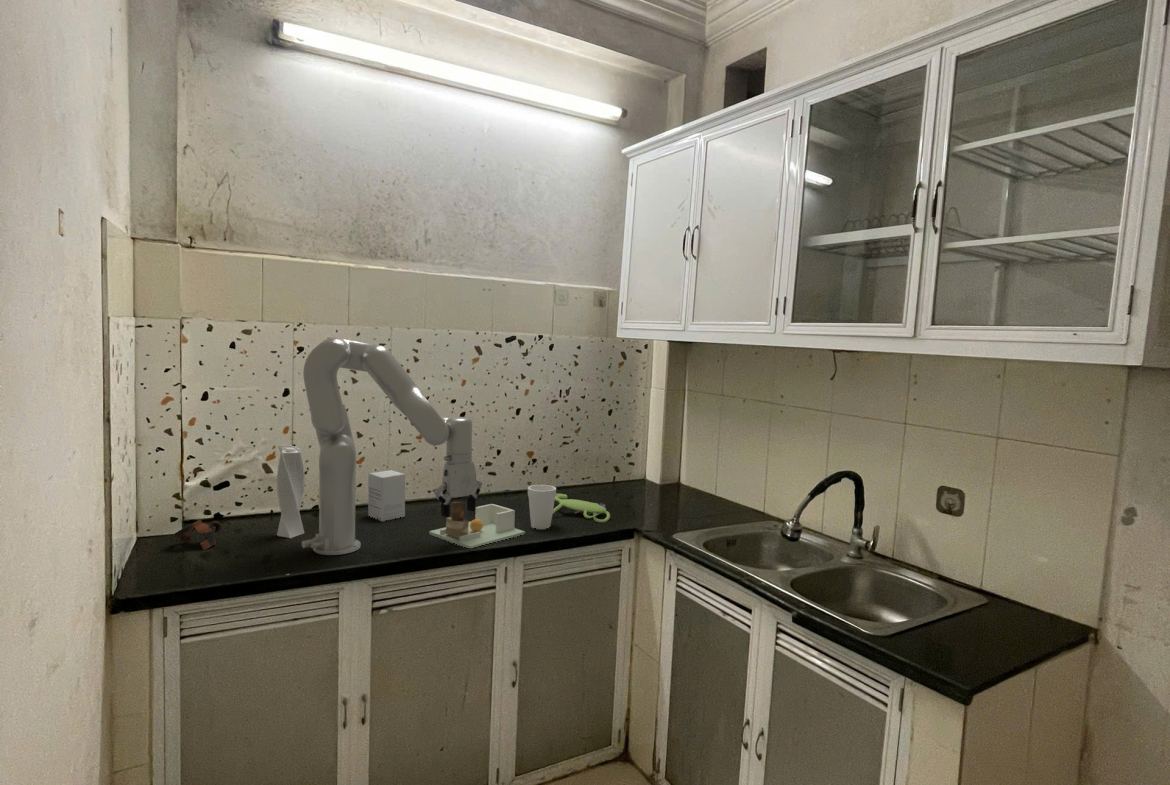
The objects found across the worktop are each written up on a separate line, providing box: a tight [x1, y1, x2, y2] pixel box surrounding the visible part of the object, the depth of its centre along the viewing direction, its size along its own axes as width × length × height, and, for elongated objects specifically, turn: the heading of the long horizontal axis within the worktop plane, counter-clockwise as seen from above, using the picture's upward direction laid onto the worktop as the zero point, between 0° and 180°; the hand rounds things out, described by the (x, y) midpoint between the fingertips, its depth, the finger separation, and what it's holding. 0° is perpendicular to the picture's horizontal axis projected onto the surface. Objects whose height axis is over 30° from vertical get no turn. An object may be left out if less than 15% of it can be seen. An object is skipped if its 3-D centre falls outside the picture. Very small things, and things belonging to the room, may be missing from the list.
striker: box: [445, 501, 470, 539], centre depth 192 cm, size 4×7×10 cm, turn 49°
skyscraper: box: [276, 444, 306, 539], centre depth 190 cm, size 8×8×28 cm
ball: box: [470, 519, 483, 532], centre depth 198 cm, size 4×4×4 cm
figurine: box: [552, 493, 611, 523], centre depth 228 cm, size 18×27×6 cm
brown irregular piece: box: [173, 519, 223, 551], centre depth 180 cm, size 12×10×8 cm
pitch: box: [428, 503, 526, 549], centre depth 199 cm, size 22×20×7 cm
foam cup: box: [527, 484, 557, 530], centre depth 210 cm, size 10×9×13 cm
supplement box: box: [367, 469, 406, 522], centre depth 214 cm, size 9×9×15 cm
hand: (458, 513), depth 192 cm, fingers open, 9 cm apart
